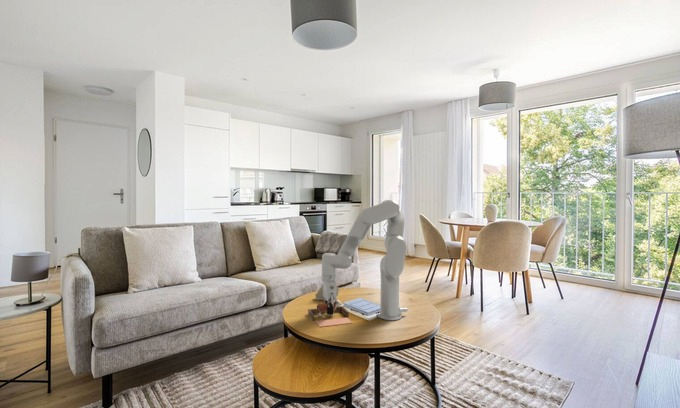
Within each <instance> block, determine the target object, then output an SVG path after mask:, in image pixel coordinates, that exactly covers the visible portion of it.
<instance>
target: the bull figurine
mask: <svg viewBox="0 0 680 408" xmlns="http://www.w3.org/2000/svg"><path fill="white" fill-rule="evenodd" d="M330 303H331V302H329V304H330ZM337 306H343V305H342V303H341V301H340V300H339V299H337V300H336V301H335V300H334V307H333V311H334V310H335V309H336V308H337ZM327 307H328V303H324V302H322V303H318V304H317V305H316V309H317V310H318V311H317V314H316V315H317V317H318V318H320V317H322V318H323V319H325V318H326V316H325V314H327V313H326V312H327ZM324 311H325V313H323V312H324ZM334 314H335V313H333V315H330V316H331V317H334V316H335V315H334Z"/></svg>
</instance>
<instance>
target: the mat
mask: <svg viewBox="0 0 680 408" xmlns="http://www.w3.org/2000/svg"><path fill="white" fill-rule="evenodd" d="M352 323H353V322H352V321H351V320H350V319H349V317H341V318H340V317H339V318H331V319H330V318H329V319H324V320H316V324H317V325H318V326H319V328H324V327H332V326H344V325H350V324H351V325H352Z"/></svg>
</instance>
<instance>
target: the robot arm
mask: <svg viewBox="0 0 680 408" xmlns="http://www.w3.org/2000/svg"><path fill="white" fill-rule="evenodd" d="M386 220H387V225H386V232H385V238H384V247H385V250H386V253H385V255H384V256H382V258H381V259H380V263H379V264H380V265H379V269H380V293H379V294H380V298H379V299H380V302H379V303H380V304H379V305H380V307H379V308H380V310H379V311H380V314H378V316H377V317H378V318H379V319H382V320H384V321H385V320H386V321H398V320H401V319H402V318H403V314H402V313H407V312H408V308H407V307H403V306H400V276H401V275H402V274H403V271H404V268H405V263H406V256H407V241H405V239H404V231H405V230H404V229H405V217H404V215H403V212H402V210H401V208H400V205H399V203H398V202H397V201H395V200H393V199H385V200H383V201H382V202H381V203H379V204H376V205H373V206H368V207H363V208H362V209H361V210H360V212H359V213H358V215H357V217H356V219H355V221H354V223H353V224H352V227H351V228H350V230H349V232H348V234H347V236H346V238H345V240H344V242H343V244H342V245H341V246H340V249H339V251H338V253H337V254H336V253H335V252H325V253H323V254H322V256H321V281H322V287H323V297H324V299H325V300H323V301H324V302H323V303H328V307H327V313H326V314H327V316H331V315H333V314H334V312H333V307H334V300H335V301H336V300H338V299H337V298H338V296H336V286H337V270H338V269H341V270H342V269H343V270H346V269H349V268H350V267H351V266H352V263H353V261H352V257H353V255H354V254H355V251H356V250H357V249H358V247H359V246H360V245H361V244H362V243H363V242H364V241H365V239H366V237H367V235H368V233H369V231H370V229H371V227H372V226H373V225H375V224H378V223H381V222H384V221H386ZM330 299H331V301H330ZM329 302H331V303H330V304H329ZM333 316H334V315H333Z"/></svg>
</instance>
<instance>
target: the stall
mask: <svg viewBox="0 0 680 408" xmlns="http://www.w3.org/2000/svg"><path fill="white" fill-rule="evenodd" d="M317 311H318V310H317V308H309V309H307V314H308V317H310V319H311V321H312V322H315V318H316V317H315V315H318V314H317ZM338 312H341V313H342V314H343V315H345V316H346V317H345V318H349V317H350V312H349V311H348V310H347V308H345V307H344V305H341V306H340V305H339V306H337V308H336V309H335V310H334V311H333V313H338ZM323 314H327V312H326V313H325V311H324V312H323Z"/></svg>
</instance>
